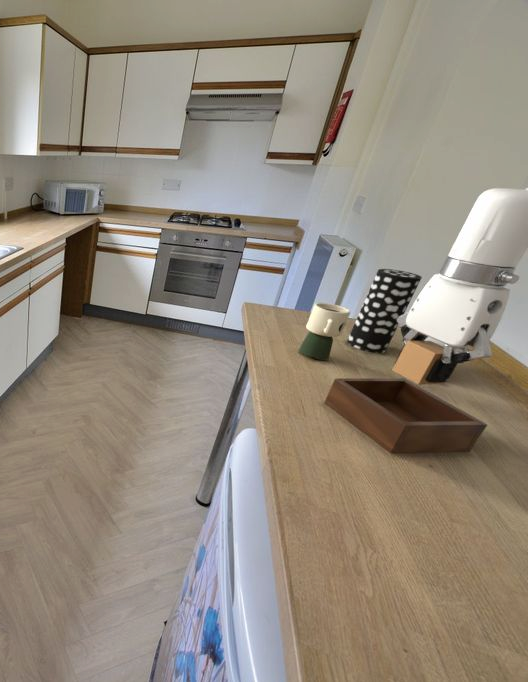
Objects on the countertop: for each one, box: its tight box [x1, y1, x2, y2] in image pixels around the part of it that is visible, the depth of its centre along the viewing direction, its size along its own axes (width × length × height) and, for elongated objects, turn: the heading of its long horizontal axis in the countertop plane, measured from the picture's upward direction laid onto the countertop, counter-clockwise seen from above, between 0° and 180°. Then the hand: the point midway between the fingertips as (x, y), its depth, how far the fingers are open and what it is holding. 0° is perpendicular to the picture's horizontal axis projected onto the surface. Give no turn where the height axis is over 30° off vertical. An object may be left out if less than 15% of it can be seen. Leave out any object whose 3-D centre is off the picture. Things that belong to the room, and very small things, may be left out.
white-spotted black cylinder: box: [346, 268, 423, 354], centre depth 105 cm, size 8×8×20 cm
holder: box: [324, 377, 488, 454], centre depth 75 cm, size 15×15×6 cm
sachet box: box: [392, 341, 455, 386], centre depth 71 cm, size 4×5×6 cm
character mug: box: [298, 302, 351, 361], centre depth 100 cm, size 11×7×13 cm, turn 150°
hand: (419, 372), depth 72 cm, fingers closed on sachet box, 5 cm apart
